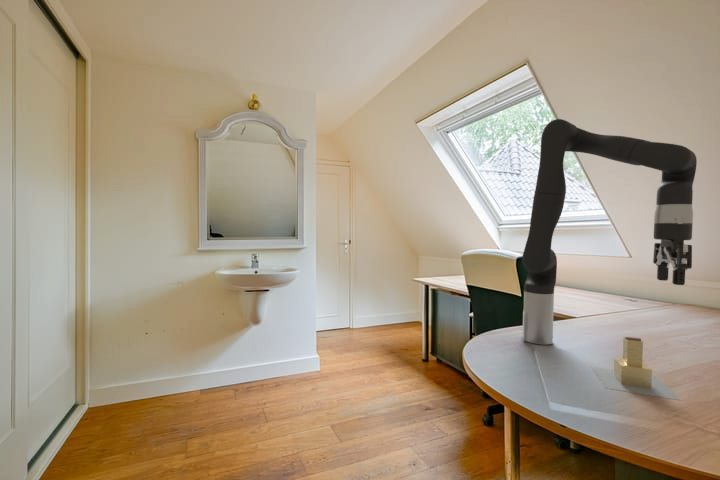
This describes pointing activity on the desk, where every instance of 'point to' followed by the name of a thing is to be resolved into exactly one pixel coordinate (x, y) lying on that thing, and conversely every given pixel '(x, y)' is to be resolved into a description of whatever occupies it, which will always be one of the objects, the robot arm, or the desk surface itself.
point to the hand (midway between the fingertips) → (670, 282)
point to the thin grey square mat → (656, 386)
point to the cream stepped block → (632, 365)
